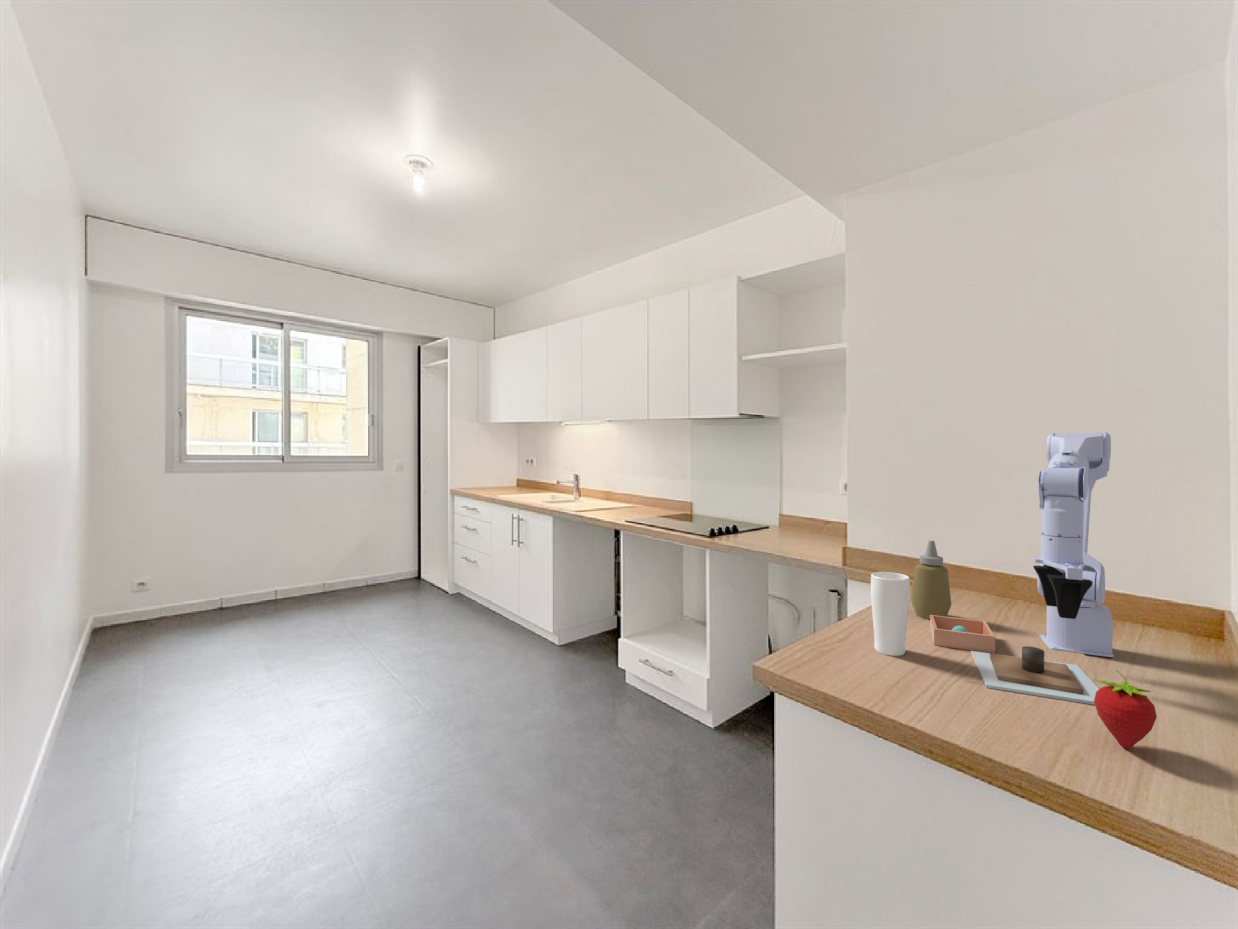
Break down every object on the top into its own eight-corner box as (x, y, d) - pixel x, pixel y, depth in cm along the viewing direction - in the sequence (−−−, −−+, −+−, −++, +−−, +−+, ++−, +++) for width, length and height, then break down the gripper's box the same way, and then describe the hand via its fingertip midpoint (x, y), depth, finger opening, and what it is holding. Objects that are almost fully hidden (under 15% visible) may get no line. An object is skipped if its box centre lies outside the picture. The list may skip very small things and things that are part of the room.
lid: (1066, 668, 92) (1066, 644, 92) (1083, 694, 82) (1083, 667, 82) (989, 657, 97) (990, 634, 97) (997, 680, 88) (998, 654, 88)
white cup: (914, 660, 97) (915, 580, 97) (875, 658, 99) (876, 579, 98) (902, 647, 104) (903, 572, 104) (866, 644, 105) (866, 571, 105)
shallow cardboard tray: (985, 637, 109) (985, 621, 109) (994, 654, 100) (995, 636, 100) (929, 630, 113) (929, 614, 113) (934, 646, 104) (934, 629, 104)
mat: (1077, 668, 93) (1077, 665, 93) (1113, 708, 79) (1113, 704, 79) (970, 653, 101) (970, 650, 101) (986, 687, 86) (986, 684, 86)
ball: (967, 639, 107) (967, 624, 107) (970, 644, 104) (970, 629, 104) (950, 637, 108) (950, 622, 108) (952, 641, 106) (952, 627, 106)
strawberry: (1094, 751, 68) (1095, 676, 68) (1092, 728, 74) (1093, 658, 73) (1159, 769, 64) (1161, 689, 64) (1151, 743, 70) (1153, 669, 69)
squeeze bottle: (951, 616, 123) (952, 539, 122) (951, 626, 116) (952, 545, 115) (912, 610, 127) (912, 537, 127) (909, 619, 120) (910, 542, 120)
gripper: (1023, 528, 101) (1022, 598, 101) (1044, 539, 88) (1043, 620, 88) (1070, 530, 97) (1068, 603, 98) (1099, 542, 84) (1098, 626, 85)
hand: (1060, 611), depth 93 cm, fingers open, 7 cm apart
